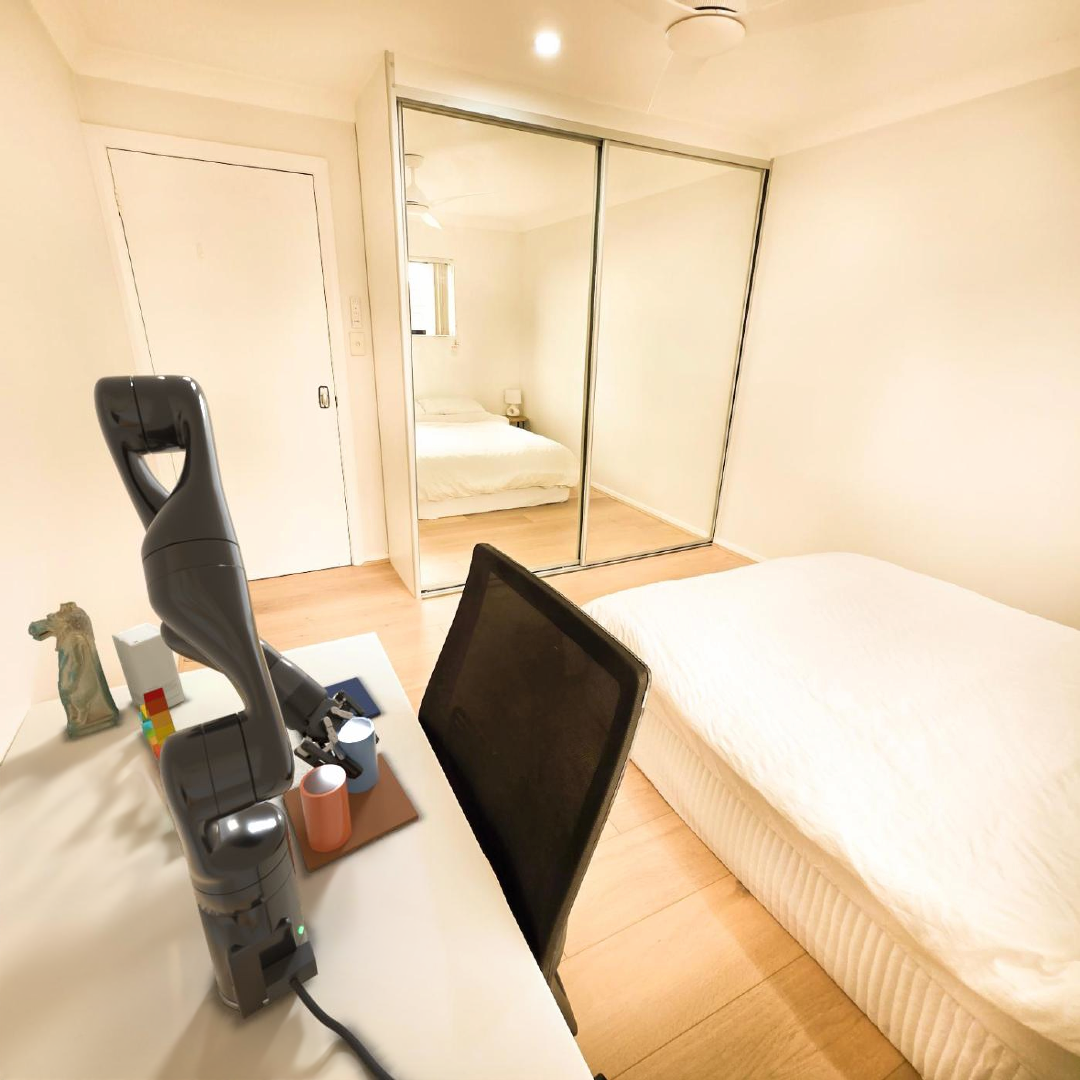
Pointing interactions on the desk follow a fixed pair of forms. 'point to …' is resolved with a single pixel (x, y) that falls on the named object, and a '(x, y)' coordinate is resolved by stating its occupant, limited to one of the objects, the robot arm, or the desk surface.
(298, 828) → the brown mat
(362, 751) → the blue tumbler
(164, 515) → the robot arm
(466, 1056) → the desk surface
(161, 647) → the cosmetic box
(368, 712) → the navy mat
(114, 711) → the statue
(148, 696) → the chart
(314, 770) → the terracotta tumbler
